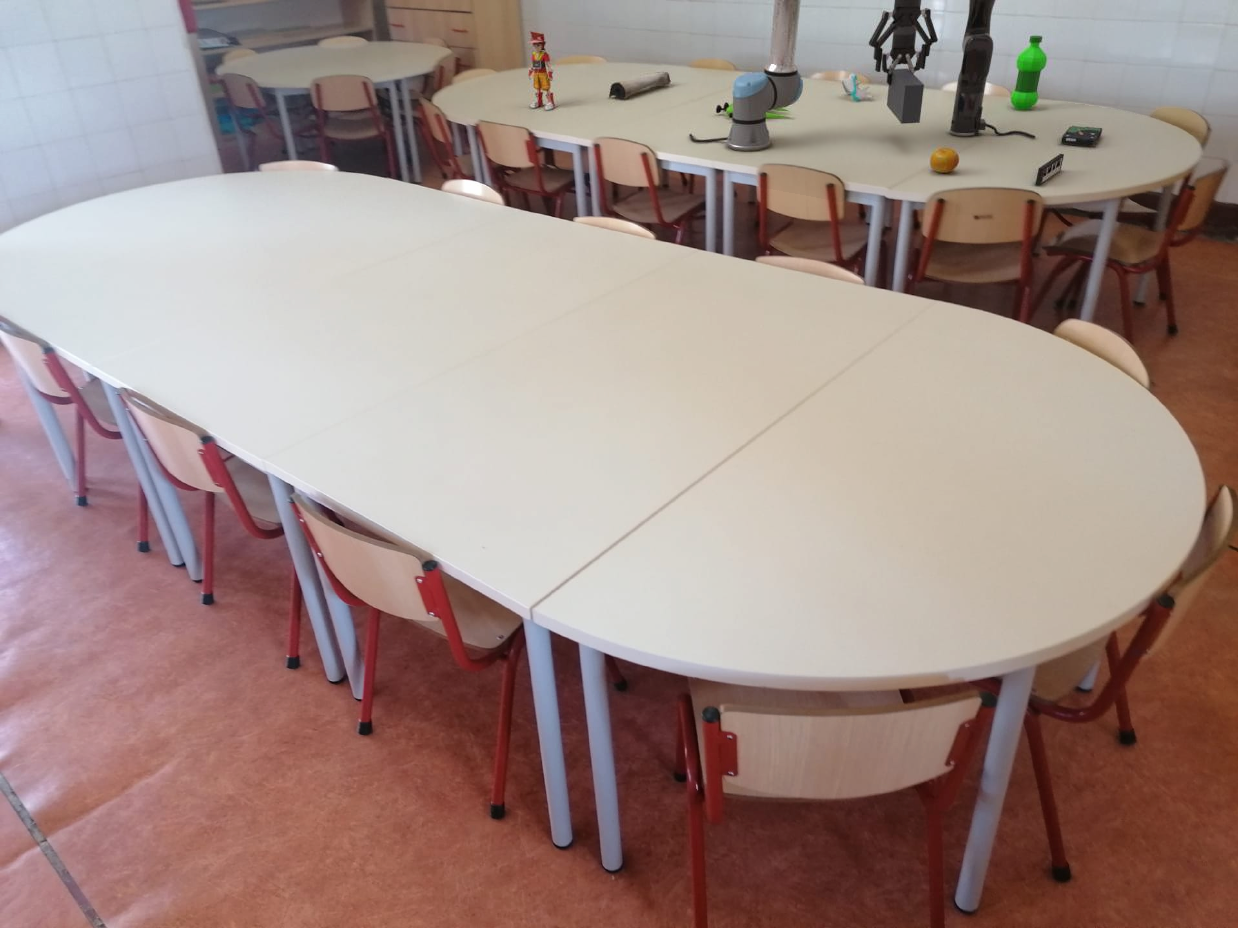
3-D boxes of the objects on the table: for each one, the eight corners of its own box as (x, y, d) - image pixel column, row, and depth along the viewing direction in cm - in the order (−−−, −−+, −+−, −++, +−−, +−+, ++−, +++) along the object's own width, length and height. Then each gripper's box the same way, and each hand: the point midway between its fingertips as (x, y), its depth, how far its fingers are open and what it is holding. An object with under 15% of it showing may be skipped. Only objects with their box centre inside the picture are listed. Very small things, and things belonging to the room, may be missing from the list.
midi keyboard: (1039, 185, 269) (1043, 168, 266) (1035, 184, 270) (1038, 168, 267) (1060, 170, 279) (1064, 154, 277) (1056, 169, 280) (1060, 153, 277)
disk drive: (1093, 148, 297) (1100, 136, 307) (1095, 139, 295) (1103, 127, 305) (1060, 144, 302) (1068, 133, 312) (1062, 136, 300) (1070, 124, 310)
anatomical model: (837, 72, 370) (861, 66, 369) (839, 98, 376) (863, 91, 375) (847, 80, 358) (872, 73, 357) (850, 107, 364) (874, 100, 363)
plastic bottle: (1042, 108, 341) (1057, 36, 326) (1025, 113, 336) (1039, 40, 322) (1019, 103, 348) (1033, 33, 333) (1002, 108, 343) (1015, 37, 329)
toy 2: (706, 117, 350) (777, 129, 338) (708, 103, 348) (779, 115, 335) (737, 106, 371) (804, 117, 358) (738, 93, 368) (807, 104, 355)
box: (886, 105, 318) (890, 69, 311) (903, 104, 318) (907, 68, 311) (901, 124, 297) (905, 86, 291) (919, 123, 297) (924, 84, 290)
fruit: (924, 163, 281) (941, 140, 278) (925, 165, 289) (941, 143, 286) (946, 178, 280) (963, 155, 277) (947, 180, 288) (963, 158, 285)
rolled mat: (651, 76, 408) (662, 61, 399) (662, 93, 408) (674, 79, 400) (605, 92, 391) (616, 77, 383) (617, 110, 391) (628, 95, 383)
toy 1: (525, 109, 381) (517, 32, 364) (534, 104, 388) (527, 28, 371) (550, 110, 377) (543, 32, 360) (559, 105, 384) (553, 28, 367)
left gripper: (870, -4, 258) (862, 75, 270) (956, -10, 258) (944, 69, 270) (863, -7, 264) (855, 70, 276) (946, -13, 264) (935, 64, 277)
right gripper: (885, 35, 299) (880, 88, 309) (929, 32, 298) (923, 85, 307) (880, 31, 305) (876, 83, 315) (924, 28, 304) (918, 81, 314)
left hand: (899, 70), depth 273 cm, fingers open, 13 cm apart
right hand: (899, 84), depth 311 cm, fingers closed on box, 6 cm apart
